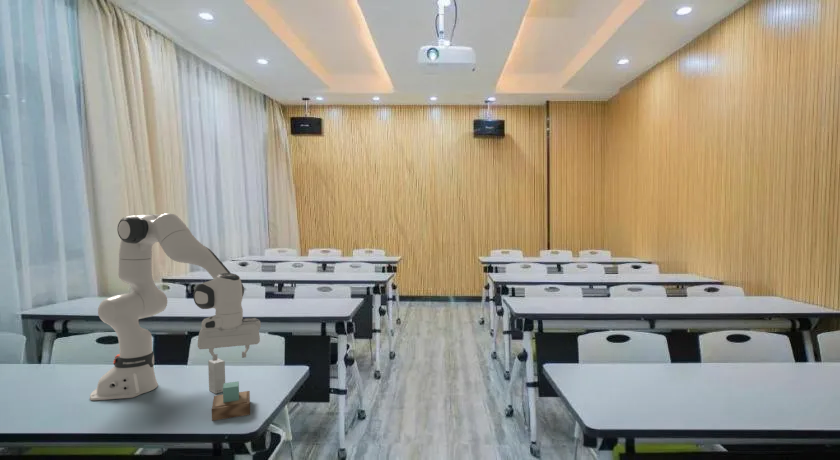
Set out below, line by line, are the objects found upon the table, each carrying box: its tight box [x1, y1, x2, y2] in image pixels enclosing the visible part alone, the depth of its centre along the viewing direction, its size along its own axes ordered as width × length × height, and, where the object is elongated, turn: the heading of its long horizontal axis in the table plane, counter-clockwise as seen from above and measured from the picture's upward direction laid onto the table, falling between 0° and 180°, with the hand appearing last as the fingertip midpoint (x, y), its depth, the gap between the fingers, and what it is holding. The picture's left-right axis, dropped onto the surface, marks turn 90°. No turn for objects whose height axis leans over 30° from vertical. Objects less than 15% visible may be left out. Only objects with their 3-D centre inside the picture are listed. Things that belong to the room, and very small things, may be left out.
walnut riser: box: [211, 390, 251, 422], centre depth 161 cm, size 12×12×4 cm
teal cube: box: [222, 381, 240, 403], centre depth 160 cm, size 5×5×5 cm
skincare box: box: [207, 357, 226, 395], centre depth 179 cm, size 6×4×12 cm
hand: (229, 358), depth 160 cm, fingers open, 8 cm apart
